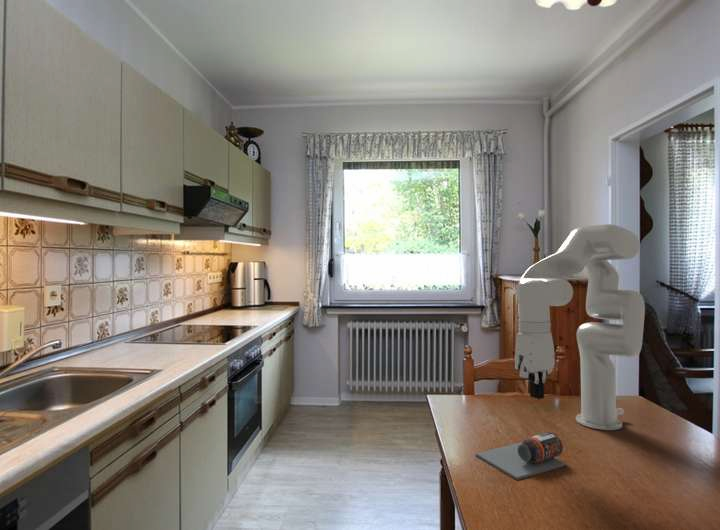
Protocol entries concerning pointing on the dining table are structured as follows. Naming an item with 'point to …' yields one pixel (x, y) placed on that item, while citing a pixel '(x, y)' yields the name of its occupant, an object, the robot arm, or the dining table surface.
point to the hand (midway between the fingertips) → (537, 397)
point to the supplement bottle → (540, 447)
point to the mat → (516, 462)
